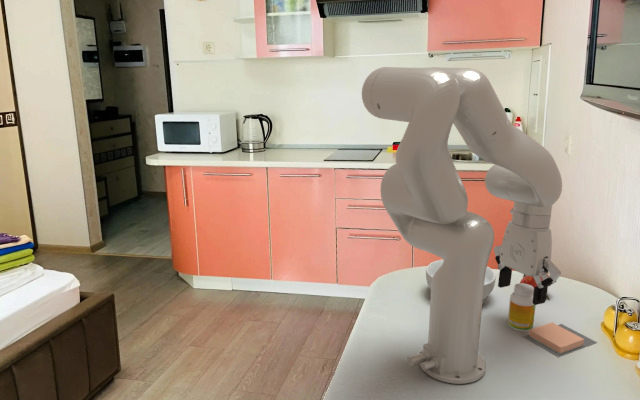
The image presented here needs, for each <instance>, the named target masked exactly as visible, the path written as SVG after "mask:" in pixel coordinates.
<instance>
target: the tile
mask: <svg viewBox="0 0 640 400" xmlns="http://www.w3.org/2000/svg"><path fill="white" fill-rule="evenodd" d="M558 325H559V324H556V323H554V321H553V322H548V323H546V324H544V325H540V326H537V327H533V329H530V330H529V331H528V335H529V337H531V338H533V339H534V340H536V341H538V342H540V343H541V344H543V345H545V346H547V347H548V348H550V349H552V350H554V351H555V352H557V353H559V354H562V353H565V352H567V351H570V350H573V349H575V348H578V347H581V346H583V345H584V339H583V338H581V337H579V336H577V335H575V334H574V333H572V332H570V331H568V330H566V329H564V328H562V327H560V326H558Z"/></svg>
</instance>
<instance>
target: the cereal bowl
mask: <svg viewBox="0 0 640 400" xmlns="http://www.w3.org/2000/svg"><path fill="white" fill-rule="evenodd" d="M443 262H444V260H443V259H442V258H441V259H438V260H434V261H432V262H430V263H429V264H428V265H427V267H426V269H425V278H426V284H427V285H428V287H429V289H430V290H431V283H432V278H433V276H434V274H435V272H436V271H437V270H438V269H439V268H440V267H441V266H442V264H443ZM495 285H496V272H495V271H494V270H493V269H492V268H491V267H490V266H488V265H487V268H486V273H485V280H484V289H483V300H484V299H487V297H488V296H489V295H491V293H492V292H493V290H494V288H495Z"/></svg>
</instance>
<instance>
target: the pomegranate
mask: <svg viewBox="0 0 640 400" xmlns="http://www.w3.org/2000/svg"><path fill="white" fill-rule="evenodd" d="M547 275H548V277H549V276H550V274H549V273H547ZM540 277H541V276H540ZM541 279H542V277H541ZM542 281H543V279H542ZM519 283H524V284H528V285H531V286H533V288H535V286H537V283H536V281H535V279H534V277H530V276H527V275H524V274H523V276H522V278H521V280H520V282H519ZM533 294H534V293H533ZM546 299H548V300H551V299H550V298H549V297H548V295H547V296H546Z"/></svg>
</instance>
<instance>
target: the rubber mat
mask: <svg viewBox="0 0 640 400" xmlns="http://www.w3.org/2000/svg"><path fill="white" fill-rule="evenodd" d="M557 325H558V326H560V327H562V328H564V329H566V330H568V331H570V332H572V333H574V334H575V335H577V336H579V337H581V338H583V339H584V345H583V346H581V347H578V348H575V349H573V350H570V351H567V352H565V353H562V354H559V353H557V352H555V351H554V350H552V349H550V348H548V347H547V346H545V345H543V344H541V343H540V342H538V341H536V340H534V339H533V338H531V337H529V334H527V335H524V336H522V338H524V339H526V340H527V341H529V342H531V343H532V344H534V345H536V346H538V347H540V348H541V349H543V350H545V351H546V352H548V353H549V354H552V355H553V356H555V357H557V358H560V357H563V356H566V355H570V354H572V353H574V352H577V351H579V350H582V349H584V348H587V347H590V346H592V345H595V344H598V342H597V341H595V340H594V339H592V338H589V337H588V336H586V335H584V334H582V333H580V332H578V331H576V330H574V329H572V328H570V327H568V326H566V325H565V324H563V323H560V324H557Z"/></svg>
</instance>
